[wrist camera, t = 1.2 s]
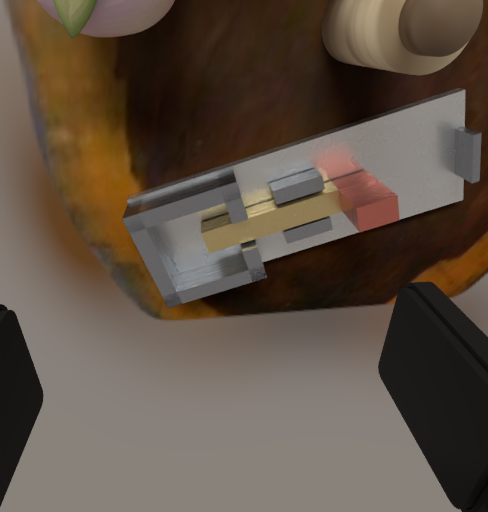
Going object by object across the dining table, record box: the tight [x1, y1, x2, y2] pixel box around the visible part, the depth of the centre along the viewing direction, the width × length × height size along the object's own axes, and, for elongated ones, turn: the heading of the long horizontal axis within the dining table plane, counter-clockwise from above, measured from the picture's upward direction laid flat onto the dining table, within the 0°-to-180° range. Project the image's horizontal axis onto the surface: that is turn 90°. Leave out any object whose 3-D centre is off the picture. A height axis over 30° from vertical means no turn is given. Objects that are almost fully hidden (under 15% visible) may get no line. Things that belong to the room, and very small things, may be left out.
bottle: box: [321, 0, 483, 75], centre depth 22 cm, size 5×5×12 cm
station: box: [122, 88, 481, 308], centre depth 31 cm, size 28×10×4 cm, turn 107°
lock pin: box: [201, 170, 400, 254], centre depth 30 cm, size 14×2×6 cm, turn 107°
